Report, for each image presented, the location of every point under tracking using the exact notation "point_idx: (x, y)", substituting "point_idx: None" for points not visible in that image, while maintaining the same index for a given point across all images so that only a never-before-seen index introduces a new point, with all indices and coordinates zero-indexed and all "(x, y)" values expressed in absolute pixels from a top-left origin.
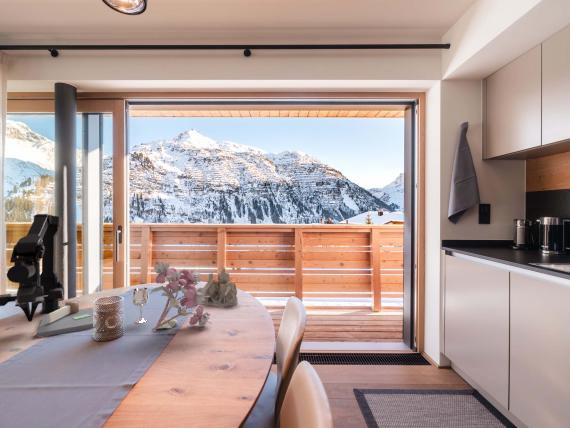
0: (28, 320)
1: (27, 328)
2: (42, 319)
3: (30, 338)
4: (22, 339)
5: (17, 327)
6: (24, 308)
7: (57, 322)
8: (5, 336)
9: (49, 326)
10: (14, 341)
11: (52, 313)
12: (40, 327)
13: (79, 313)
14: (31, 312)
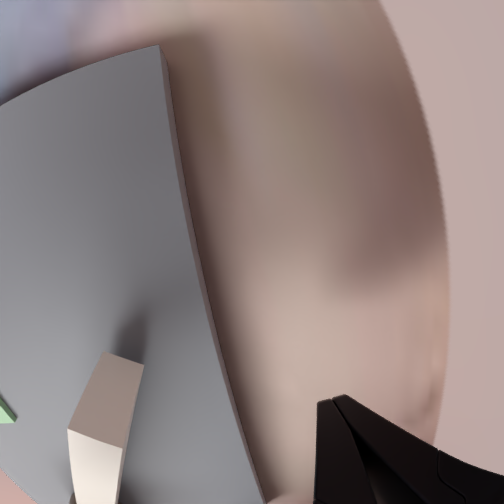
0: (353, 401)
1: (332, 391)
2: (253, 478)
3: (226, 70)
4: (298, 77)
5: (390, 416)
6: (490, 501)
7: (69, 373)
8: (443, 250)
9: (84, 266)
10: (350, 60)
11: (73, 459)
12: (180, 274)
13: (46, 478)
14: (360, 488)
